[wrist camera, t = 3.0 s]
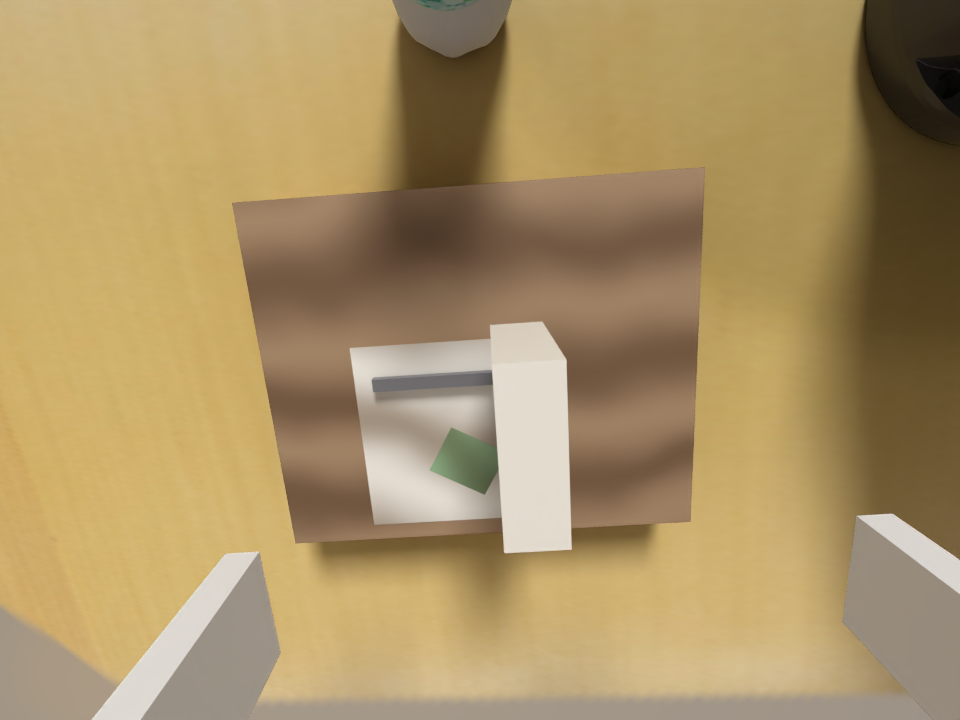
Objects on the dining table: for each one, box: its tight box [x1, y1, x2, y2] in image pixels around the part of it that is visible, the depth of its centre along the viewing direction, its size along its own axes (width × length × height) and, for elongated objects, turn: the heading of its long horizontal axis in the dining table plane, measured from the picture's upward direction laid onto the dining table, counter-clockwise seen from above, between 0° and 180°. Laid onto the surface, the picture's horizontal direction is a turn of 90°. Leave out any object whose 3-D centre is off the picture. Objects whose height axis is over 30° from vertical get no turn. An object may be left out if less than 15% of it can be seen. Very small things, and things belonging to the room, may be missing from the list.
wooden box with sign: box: [232, 167, 705, 543], centre depth 30 cm, size 20×24×5 cm
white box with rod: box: [371, 322, 572, 553], centre depth 22 cm, size 7×9×11 cm
